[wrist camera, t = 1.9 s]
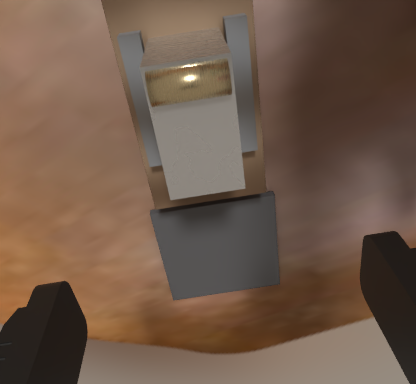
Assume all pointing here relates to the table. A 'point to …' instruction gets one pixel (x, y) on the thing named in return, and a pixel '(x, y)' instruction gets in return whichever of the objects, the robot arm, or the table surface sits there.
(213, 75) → the lever cap
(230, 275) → the rubber mat
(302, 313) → the table surface
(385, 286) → the robot arm
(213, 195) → the brown flat block
